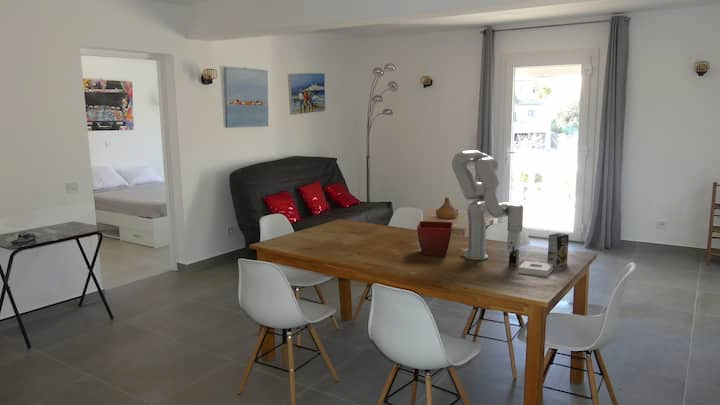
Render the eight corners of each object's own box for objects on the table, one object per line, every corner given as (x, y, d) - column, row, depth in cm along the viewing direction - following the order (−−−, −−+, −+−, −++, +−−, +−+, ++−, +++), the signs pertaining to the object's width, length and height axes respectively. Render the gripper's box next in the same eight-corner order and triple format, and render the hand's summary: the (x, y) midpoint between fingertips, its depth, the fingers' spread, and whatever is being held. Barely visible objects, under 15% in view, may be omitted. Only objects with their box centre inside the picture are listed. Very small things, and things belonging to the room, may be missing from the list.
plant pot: (450, 258, 308) (451, 228, 306) (416, 256, 312) (416, 227, 309) (452, 250, 327) (452, 222, 324) (419, 248, 330) (420, 221, 328)
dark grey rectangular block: (508, 265, 293) (509, 250, 291) (510, 263, 296) (511, 248, 295) (516, 266, 291) (516, 251, 289) (518, 264, 294) (518, 249, 293)
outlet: (518, 272, 278) (518, 267, 278) (524, 266, 290) (525, 260, 290) (547, 276, 271) (547, 270, 271) (552, 269, 283) (553, 264, 283)
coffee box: (557, 267, 289) (559, 236, 286) (546, 264, 294) (548, 234, 291) (567, 264, 294) (569, 234, 291) (557, 262, 299) (558, 232, 297)
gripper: (511, 224, 299) (510, 257, 302) (503, 230, 285) (502, 264, 288) (525, 225, 296) (524, 259, 298) (518, 231, 281) (516, 266, 284)
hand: (513, 261), depth 293 cm, fingers closed on dark grey rectangular block, 3 cm apart
